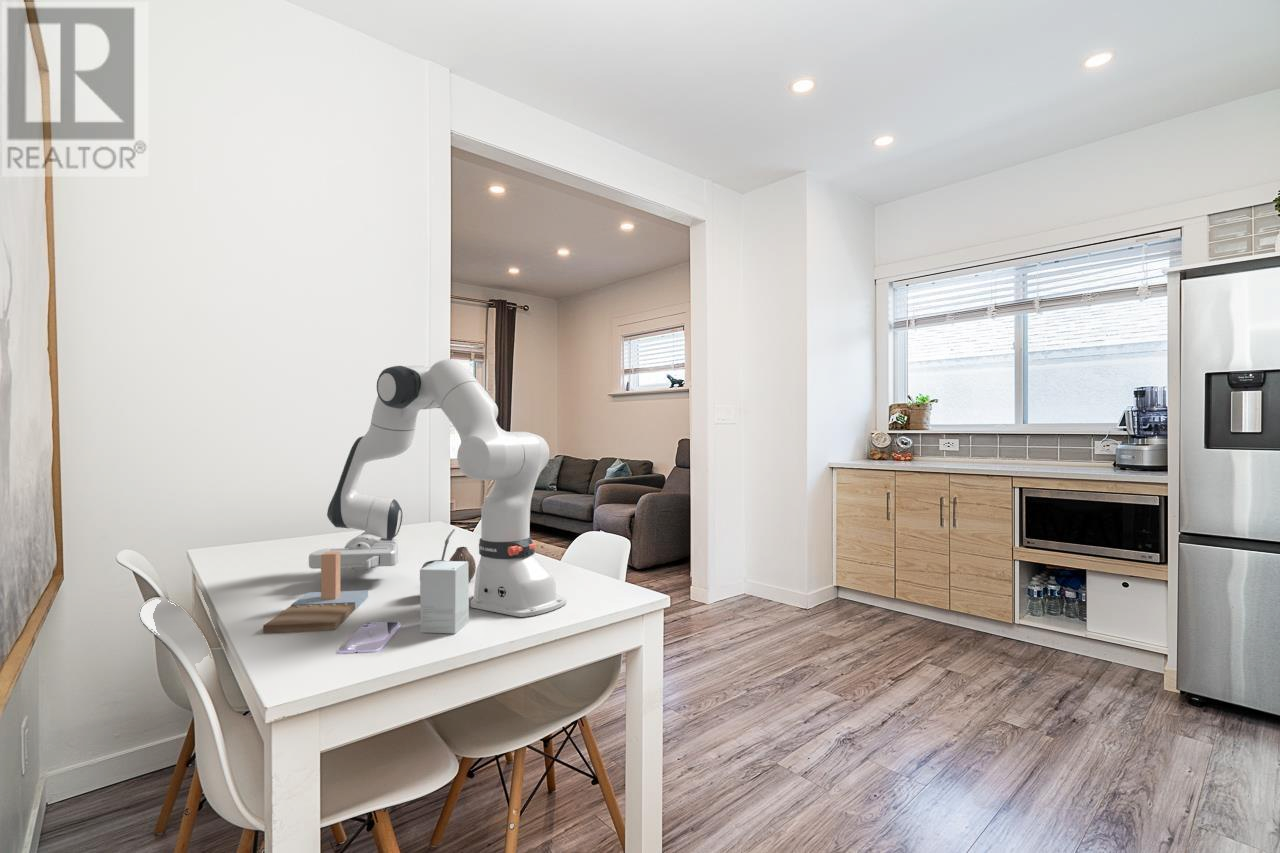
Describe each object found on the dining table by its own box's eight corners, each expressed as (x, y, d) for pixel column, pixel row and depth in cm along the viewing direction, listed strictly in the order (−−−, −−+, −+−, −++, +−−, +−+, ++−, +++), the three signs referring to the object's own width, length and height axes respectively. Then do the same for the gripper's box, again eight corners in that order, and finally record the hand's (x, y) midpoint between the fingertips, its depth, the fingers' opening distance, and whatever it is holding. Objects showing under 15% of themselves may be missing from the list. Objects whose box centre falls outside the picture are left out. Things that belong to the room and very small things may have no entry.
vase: (481, 580, 152) (481, 546, 152) (460, 586, 146) (460, 551, 146) (463, 576, 155) (463, 543, 155) (441, 582, 150) (442, 548, 150)
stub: (355, 609, 127) (355, 556, 127) (290, 611, 125) (291, 558, 125) (367, 596, 136) (368, 547, 136) (308, 598, 134) (308, 549, 134)
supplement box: (469, 621, 121) (470, 560, 120) (455, 634, 113) (455, 569, 113) (435, 620, 121) (435, 559, 121) (418, 633, 114) (418, 568, 114)
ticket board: (334, 629, 115) (334, 621, 115) (263, 633, 113) (263, 624, 113) (354, 610, 127) (354, 602, 127) (290, 612, 125) (290, 605, 125)
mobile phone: (334, 650, 104) (363, 621, 118) (334, 656, 104) (363, 626, 118) (379, 648, 105) (402, 620, 119) (379, 654, 105) (402, 624, 119)
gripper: (320, 541, 151) (297, 553, 137) (403, 539, 154) (389, 550, 140) (320, 565, 151) (297, 580, 137) (403, 563, 154) (389, 576, 140)
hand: (344, 565), depth 139 cm, fingers open, 8 cm apart
